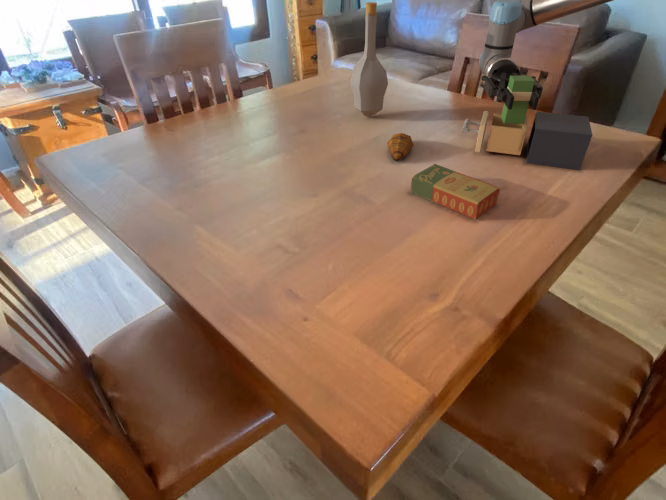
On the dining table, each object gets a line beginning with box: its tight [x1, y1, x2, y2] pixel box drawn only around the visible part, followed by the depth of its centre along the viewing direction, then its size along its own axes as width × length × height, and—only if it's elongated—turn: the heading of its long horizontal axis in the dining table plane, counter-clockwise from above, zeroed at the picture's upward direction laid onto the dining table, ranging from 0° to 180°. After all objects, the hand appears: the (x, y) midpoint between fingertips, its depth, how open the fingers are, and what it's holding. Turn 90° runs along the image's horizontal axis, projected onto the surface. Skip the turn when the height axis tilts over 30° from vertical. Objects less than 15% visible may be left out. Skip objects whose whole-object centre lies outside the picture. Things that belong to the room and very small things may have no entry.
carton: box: [410, 163, 501, 220], centre depth 89 cm, size 8×16×4 cm, turn 44°
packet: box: [500, 75, 535, 124], centre depth 100 cm, size 5×4×10 cm
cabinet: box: [525, 111, 593, 171], centre depth 102 cm, size 12×12×9 cm
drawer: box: [460, 110, 529, 156], centre depth 107 cm, size 15×10×7 cm
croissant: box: [386, 132, 415, 162], centre depth 107 cm, size 14×7×5 cm, turn 167°
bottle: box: [349, 1, 389, 118], centre depth 120 cm, size 11×11×30 cm
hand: (523, 103), depth 95 cm, fingers closed on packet, 5 cm apart
